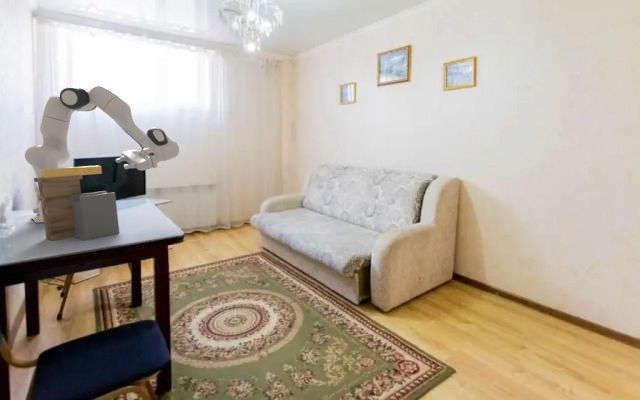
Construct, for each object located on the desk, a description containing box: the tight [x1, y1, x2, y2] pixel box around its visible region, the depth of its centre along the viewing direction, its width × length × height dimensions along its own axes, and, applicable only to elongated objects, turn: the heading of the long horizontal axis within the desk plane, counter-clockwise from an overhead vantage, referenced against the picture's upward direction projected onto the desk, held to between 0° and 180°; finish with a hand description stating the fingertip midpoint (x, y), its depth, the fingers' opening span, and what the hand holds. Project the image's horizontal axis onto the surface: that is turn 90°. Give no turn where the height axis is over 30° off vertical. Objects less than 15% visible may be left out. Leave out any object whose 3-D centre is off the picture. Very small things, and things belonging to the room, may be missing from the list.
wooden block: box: [40, 165, 103, 178], centre depth 153 cm, size 22×4×4 cm, turn 147°
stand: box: [33, 175, 84, 241], centre depth 151 cm, size 7×15×26 cm, turn 147°
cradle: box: [71, 190, 120, 241], centre depth 152 cm, size 8×14×18 cm, turn 148°
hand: (120, 164), depth 171 cm, fingers open, 8 cm apart
